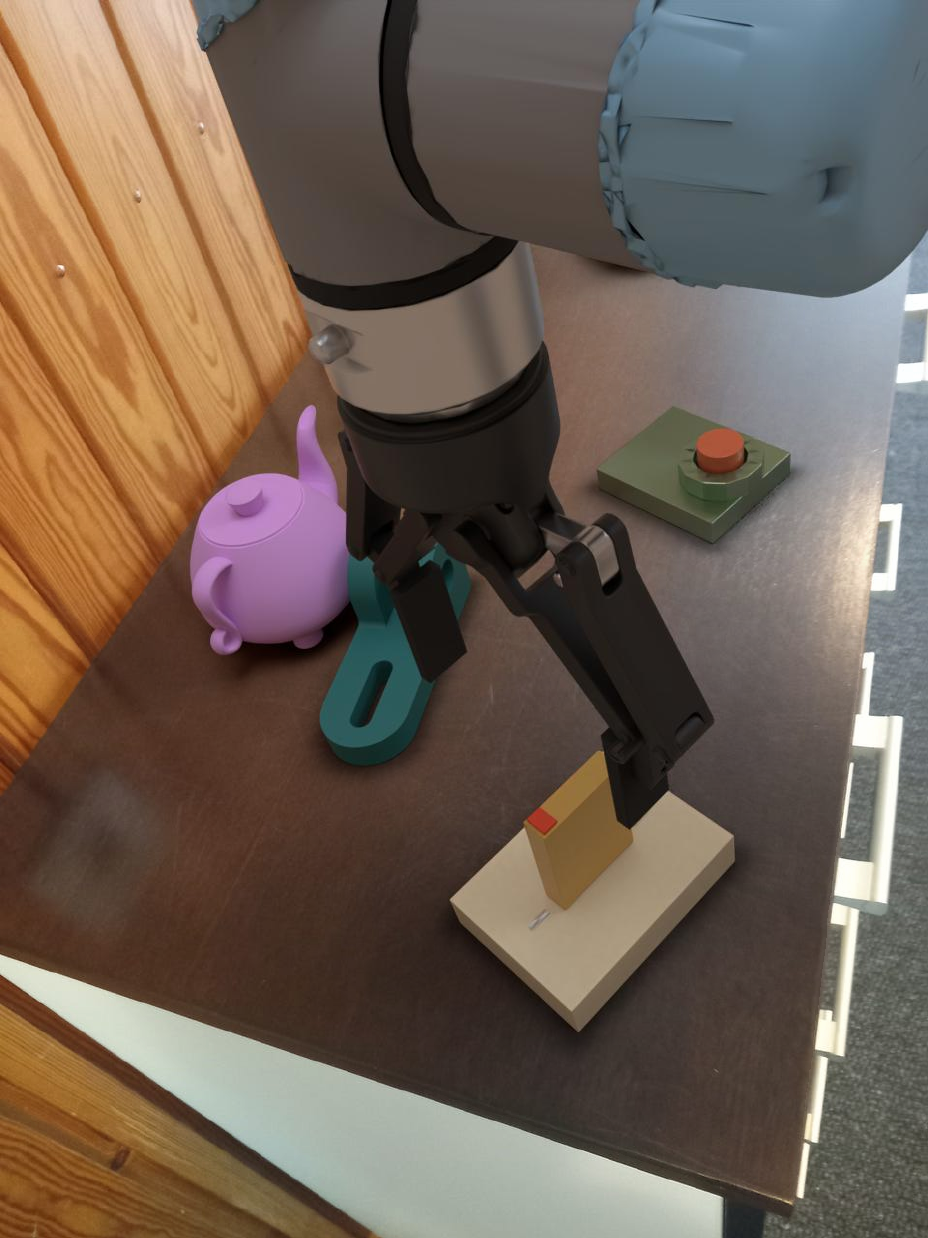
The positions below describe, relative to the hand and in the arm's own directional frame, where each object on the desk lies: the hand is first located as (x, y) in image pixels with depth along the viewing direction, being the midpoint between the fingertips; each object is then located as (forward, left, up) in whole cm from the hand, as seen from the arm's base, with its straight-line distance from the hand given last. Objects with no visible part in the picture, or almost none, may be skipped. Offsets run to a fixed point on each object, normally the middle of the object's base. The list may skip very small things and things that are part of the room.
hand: (535, 729), depth 50 cm
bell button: (+16, -34, -14) cm, 40 cm away
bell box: (+19, -34, -18) cm, 42 cm away
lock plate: (0, -1, -18) cm, 18 cm away
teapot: (+37, -5, -18) cm, 41 cm away
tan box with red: (0, -1, -14) cm, 14 cm away
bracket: (+24, -5, -18) cm, 30 cm away
